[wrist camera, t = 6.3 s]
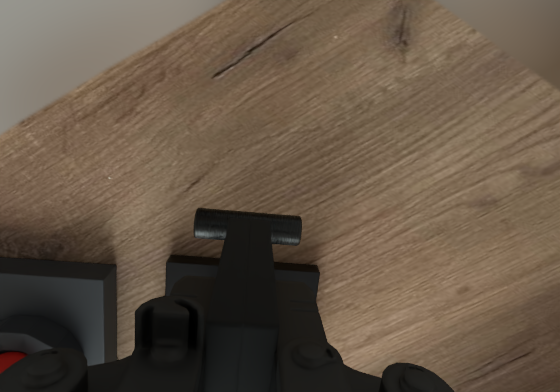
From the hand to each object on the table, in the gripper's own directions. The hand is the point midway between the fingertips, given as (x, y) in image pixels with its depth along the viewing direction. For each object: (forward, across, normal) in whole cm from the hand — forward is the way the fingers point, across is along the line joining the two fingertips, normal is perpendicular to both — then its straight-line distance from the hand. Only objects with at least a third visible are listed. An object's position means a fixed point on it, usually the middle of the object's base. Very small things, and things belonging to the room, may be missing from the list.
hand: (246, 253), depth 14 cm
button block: (+10, -13, -12) cm, 20 cm away
